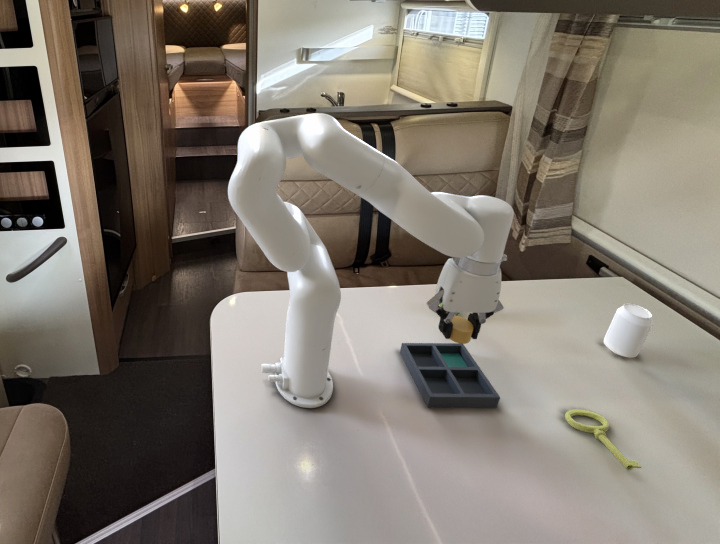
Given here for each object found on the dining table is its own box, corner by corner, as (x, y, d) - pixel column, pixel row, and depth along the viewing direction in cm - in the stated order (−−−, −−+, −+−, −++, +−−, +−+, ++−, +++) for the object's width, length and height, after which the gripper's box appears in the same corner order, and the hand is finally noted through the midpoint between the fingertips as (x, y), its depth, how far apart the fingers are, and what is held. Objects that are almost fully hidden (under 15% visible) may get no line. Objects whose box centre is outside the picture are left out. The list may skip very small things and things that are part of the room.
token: (451, 343, 85) (454, 332, 84) (440, 326, 89) (443, 315, 88) (475, 344, 85) (478, 332, 84) (463, 327, 89) (466, 315, 88)
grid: (427, 407, 89) (430, 396, 88) (399, 352, 102) (401, 342, 101) (496, 408, 89) (500, 397, 87) (459, 353, 102) (462, 343, 101)
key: (628, 477, 76) (632, 469, 75) (558, 415, 87) (561, 408, 86) (656, 465, 78) (660, 458, 77) (584, 406, 89) (588, 399, 88)
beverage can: (642, 355, 101) (662, 315, 96) (627, 363, 99) (646, 323, 94) (611, 336, 106) (629, 298, 102) (596, 344, 104) (613, 305, 100)
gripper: (510, 248, 83) (489, 321, 90) (421, 248, 84) (408, 320, 91) (535, 272, 76) (511, 349, 83) (439, 271, 77) (423, 347, 84)
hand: (457, 333), depth 87 cm, fingers closed on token, 4 cm apart
